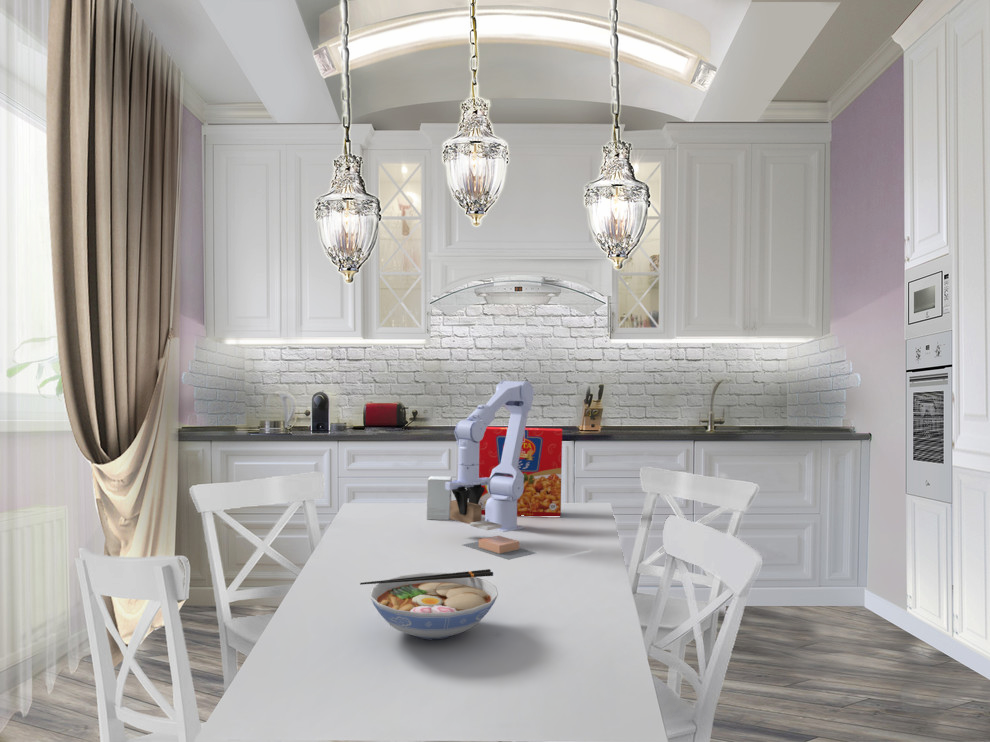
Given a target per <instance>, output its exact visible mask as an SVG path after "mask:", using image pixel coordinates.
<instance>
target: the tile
mask: <svg viewBox="0 0 990 742" xmlns="http://www.w3.org/2000/svg"><path fill="white" fill-rule="evenodd" d="M478 541H479V547H480V548H482V549H485V550H488V551H492V552H495V553H498V554H502V553H506V552H511V551H515V550H518V549H519V548H520V540H516V539H512V538H509V537H506V536H502V535H493V536H490V537H483V538H478Z"/></svg>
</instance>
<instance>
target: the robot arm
mask: <svg viewBox="0 0 990 742" xmlns="http://www.w3.org/2000/svg"><path fill="white" fill-rule="evenodd" d="M534 396H535V391H534V388H533V384H532V382H531V381H529V380H525V381H524V380H523V381H520V380H505V379H504V380H501V381H500V382H499V383H498V384H497V385H496V388H495V392H494V394H493V395H492V396H491V397H490V398H489V400H488V401H487V402H486V404H485V403H484V404H478V405H477V406H476V409H474V410H473V412H471V414H469V416H468V417H467V418H466V419H461V420H460V421H459V422H458V423H456V425H455V427H454V428H455V429H454V432H453V433H454V438H455V440H456V445H457V448H458V455H457V456H458V458H457V459H458V460H457V462H458V463H457V465H458V466H457V467H458V468H457V479H455V480H452V481H450V482H445V489H446V490H452V491H451V493H452V494H453V496H454V498H455V500H456V501H457V504H458V508H459V512H460V514H461V515H466V514H467V503H468V502H470V503H474V504H478V503H479V500H480V498H481V496H482V494H483V492H484V491H485V488H484V487H481V486H482V485H487V490H488V492H489V494H490V495H491V497H490V498H489V499H488V500H487V502H486V506H485V515H484V518H485V519H484V520H485V521H489V522H493V523H497V524H501V525H502V528H498V529H494V530H495V531H499V532H503V533H505V532H509V531H515V530H523V529H524V527H523V526H521V525H518V522H517V521H518V516H517V499H519V498H520V496H521V495H522V493H523V490H524V484H523V481H524V475H523V473H522V472H521V471H520V470H519V469H518V462H519V457H520V452H521V447H522V442H523V437H524V432H525V428H527V427H526V426H527V423H528V418H529V417H528V416H529V412H530V411H531V410H532V405H533V401H534ZM503 406H504V408H505V410H507V411H509V414H510V416H509V420H508V425H507V427H508V429H507V434H506V439H505V444H504V448H503V453H502V458H501V463H500V464H499V465H498V466H497V467H495V468H494V469H493V470H492V473H491V476H490V478H487V477H485V478H479V441H481V440H482V439H483V437H484V433H485V431H486V428H487V427H489V425H490V424H491V423H492V422H493V421H494V420H495V418H496V413H497V412H498V411H499V410H500V409H501V408H502V407H503ZM509 476H513V477H509Z"/></svg>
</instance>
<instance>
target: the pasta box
mask: <svg viewBox="0 0 990 742" xmlns="http://www.w3.org/2000/svg"><path fill="white" fill-rule="evenodd" d="M507 429H508V426H507V427H506V426H505V427H504V426H488V427H487V428H486V431H485V433H484V437H483V439H482V440H481V441H479V478H485V477H487V478H490V476H491V473H492V470H493V469H494V468H495V467H497V466H498V465H499V464H500V463H501V458H502V453H503V448H504V444H505V439H506V434H507ZM562 458H563V428H553V427H552V428H549V427H548V428H547V427H544V428H543V427H525V432H524V437H523V442H522V447H521V452H520V457H519V462H518V469H519V470H520V471H521V472H522V473H523V475H524V481H523V484H524V490H523V493H522V495H521V496H520V498H519V499H517V517H522V516H521V515H524V516H562V514H561V513H562V467H563V466H562V460H563V459H562ZM509 477H513V476H509ZM481 487H484V488H485V491H484V492H483V494H482V496H481V498H480V500H479V503H478V505H481V516H485V506H486V502H487V500H488V499H489V498H490V497H491V495H490V494H489V492H488V490H487V485H482V486H481Z"/></svg>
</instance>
